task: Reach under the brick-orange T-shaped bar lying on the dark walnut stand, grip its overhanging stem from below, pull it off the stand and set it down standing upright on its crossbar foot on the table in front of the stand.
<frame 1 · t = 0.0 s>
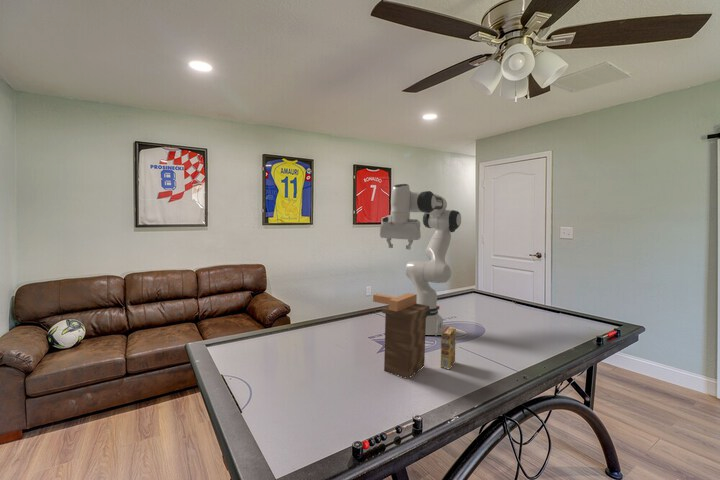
hand: (399, 248, 156), 48 cm above the table, tool pointing down, fingers open, 8 cm apart
stand: (404, 368, 139), on the table
candy box: (447, 365, 143), on the table
t bar: (390, 304, 141), point 26 cm above the table, touching stand
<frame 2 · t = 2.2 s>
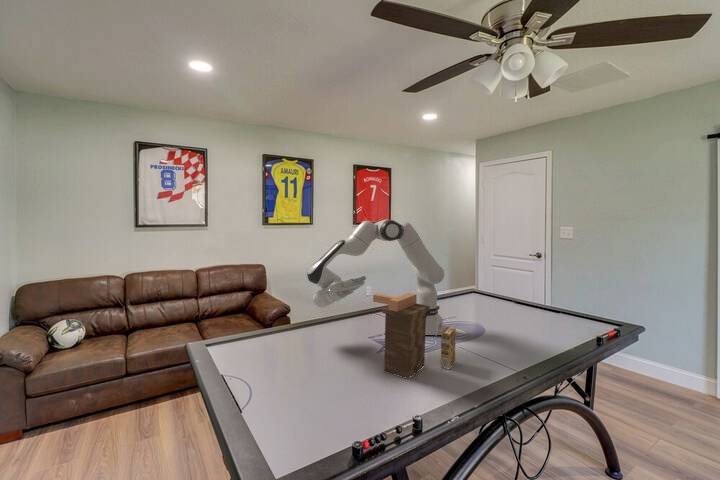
hand: (358, 279, 151), 34 cm above the table, tool pointing upward, fingers open, 8 cm apart
nothing on the table moved.
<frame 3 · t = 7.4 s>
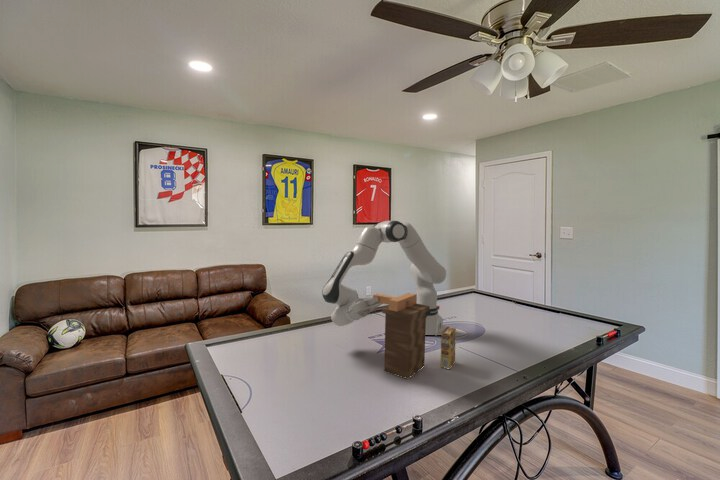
hand: (381, 297, 144), 28 cm above the table, tool pointing upward, fingers closed on t bar, 3 cm apart
t bar: (390, 304, 141), point 26 cm above the table, touching gripper, stand
everything else where it was.
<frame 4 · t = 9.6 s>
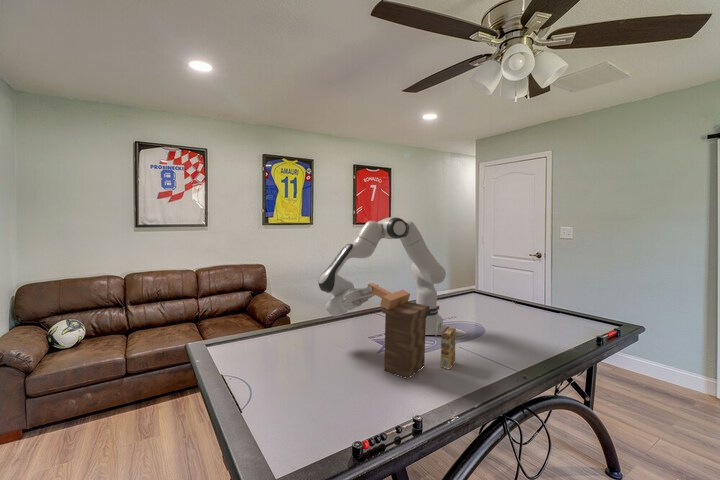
hand: (375, 287, 146), 32 cm above the table, tool pointing upward, fingers closed on t bar, 3 cm apart
t bar: (383, 297, 143), point 28 cm above the table, tilted 16°, touching gripper, stand
everything else where it was.
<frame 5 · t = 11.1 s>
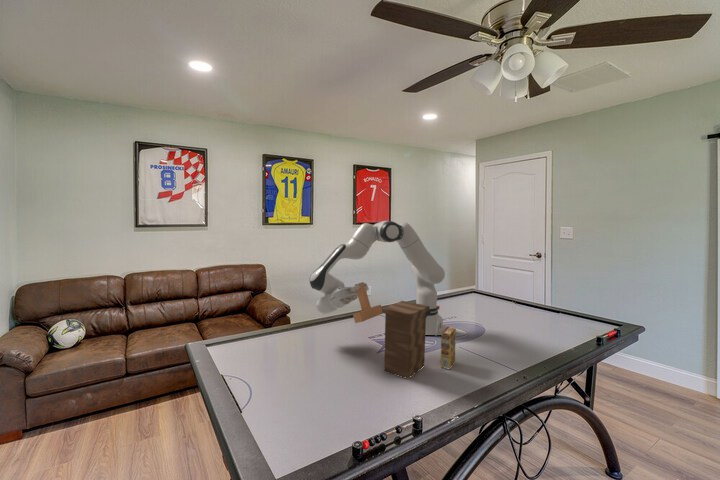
hand: (362, 285, 150), 32 cm above the table, tool pointing upward, fingers closed on t bar, 3 cm apart
t bar: (361, 301, 151), point 25 cm above the table, tilted 69°, touching gripper
everything else where it was.
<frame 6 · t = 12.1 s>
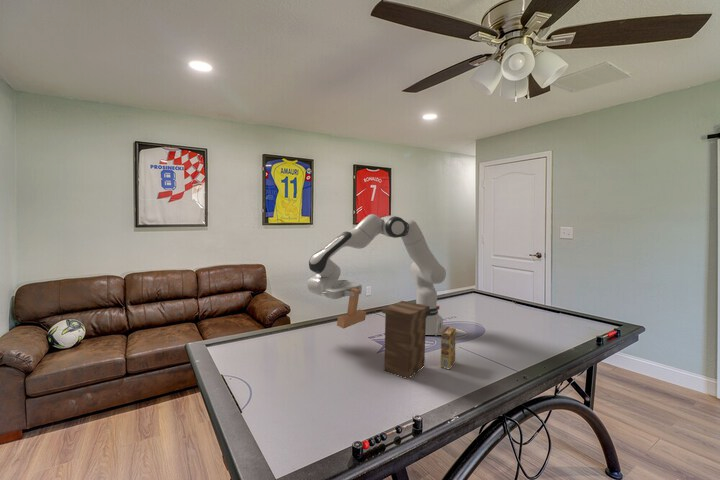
hand: (357, 293, 152), 28 cm above the table, tool horizontal, fingers closed on t bar, 3 cm apart
t bar: (350, 304, 155), point 22 cm above the table, tilted 99°, touching gripper
everything else where it was.
when the fingers open (15 cm above the table, at t = 16.4 s): t bar moves 1 cm and tips over, point 8 cm above the table.
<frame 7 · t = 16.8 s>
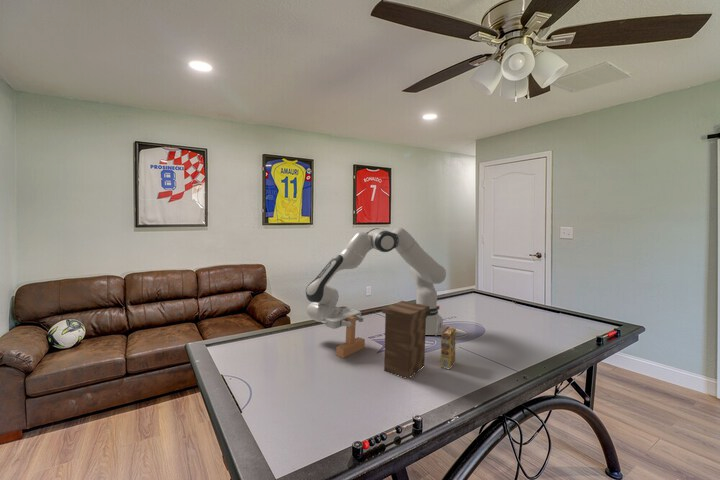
hand: (357, 322, 153), 15 cm above the table, tool horizontal, fingers open, 7 cm apart
t bar: (348, 333, 156), point 8 cm above the table, tilted 91°
everything else where it was.
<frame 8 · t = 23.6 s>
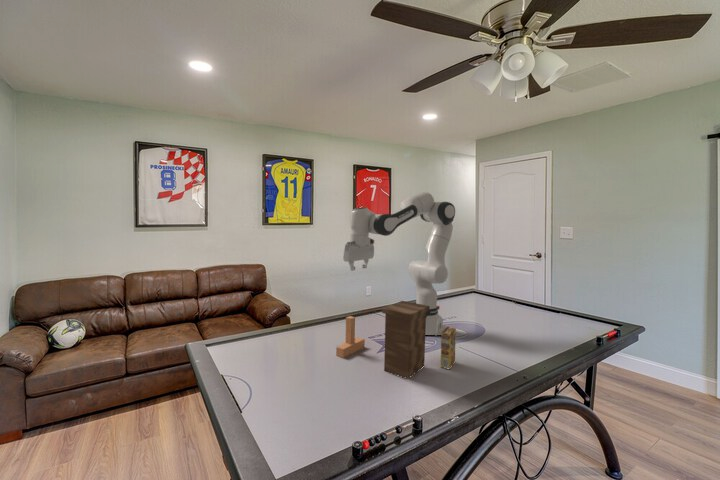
hand: (358, 269, 162), 37 cm above the table, tool pointing down, fingers open, 8 cm apart
nothing on the table moved.
at the end: t bar inside the target area (2.0 cm from its centre), point 8.0 cm above the table; t bar tilted 90°; the gripper is holding nothing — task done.
